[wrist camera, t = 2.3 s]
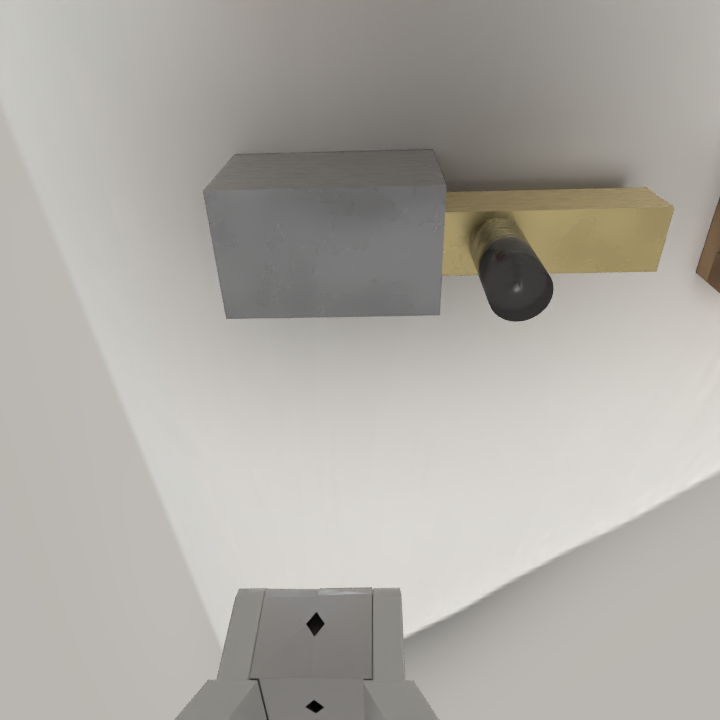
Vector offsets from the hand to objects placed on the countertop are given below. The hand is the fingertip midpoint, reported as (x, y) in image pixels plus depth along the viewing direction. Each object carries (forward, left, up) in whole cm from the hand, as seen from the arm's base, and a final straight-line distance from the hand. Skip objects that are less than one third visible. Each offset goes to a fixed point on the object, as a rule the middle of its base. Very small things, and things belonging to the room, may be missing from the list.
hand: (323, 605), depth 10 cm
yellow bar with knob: (0, +4, -21) cm, 21 cm away
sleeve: (0, -1, -23) cm, 23 cm away
